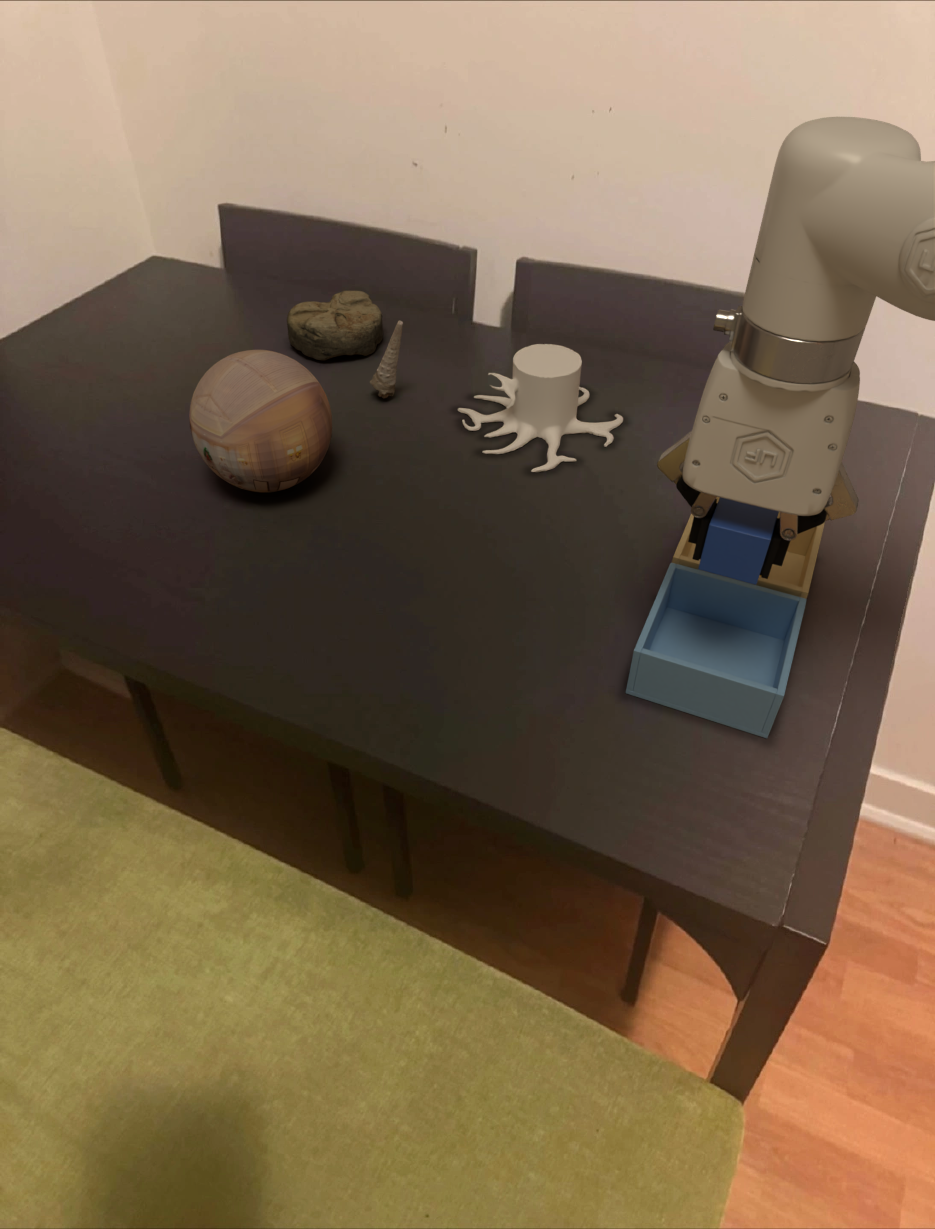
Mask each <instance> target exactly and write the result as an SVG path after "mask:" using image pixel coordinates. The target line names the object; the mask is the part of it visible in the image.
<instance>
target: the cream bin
mask: <svg viewBox="0 0 935 1229" xmlns="http://www.w3.org/2000/svg"><path fill="white" fill-rule="evenodd" d="M719 498H720V497H716V499H717V502H716V503H718V501H719ZM693 518H694V516H693V515H692V514H691V513H690V515H689V518H688V520H687V522H686V525H685V527H684V529H683V532H682V535H681V537H680V539H679V542H678V544H677V546H676V549H675V552H674V553H673V556H672V559H671V563H675V564H679V565H683V566H686V567H690V568H694V569H697V570H699V569H698V568H699V564H700V560H701V559H699V561H698V560H694V559H692V558H693V554H694V550H695V546H696V544H694V543H690V542H688V540H689V535H690V531H691V527H692V523H693ZM777 518H780V512H779V514H778V517H777ZM825 523H826V521H825V522H824V523H823V524H821V525H819V526H817V527H814V528H812V529H809V530H807V531H804V532H802V533H799V534H797V537H796V538H795V539H794V540H791V541H790V544H789V547H788V549H787V552H786V555H785V558H784V561H783V564H782V566H778V565H774V564H772V567H771V571H770V574H769V578H768V579H765V578H761V576H759V578H758V581H757V584H756V585H757V586H761V587H764V588H768V589H772V590H775V591H779V592H783V593H786V594H790V595H794V596H798V597H801V598H805V599H807V598H808V596H809V592H810V587H811V583H812V579H813V575H814V570H815V566H816V563H817V558H818V555H819V554H818V553H819V549H820V546H821V541H822V537H823V532H824V528H825ZM701 571H702V570H701ZM705 572H706V571H705ZM709 573H710V572H709ZM712 574H714V573H712ZM716 575H717V574H716ZM720 576H721V575H720ZM723 577H725V576H723ZM727 578H728V577H727ZM731 579H732V578H731ZM735 580H736V579H735ZM738 581H740V580H738ZM742 582H743V581H742ZM746 583H747V582H746ZM749 584H751V583H749ZM753 585H754V584H753Z"/></svg>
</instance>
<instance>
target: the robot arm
mask: <svg viewBox="0 0 935 1229" xmlns="http://www.w3.org/2000/svg"><path fill="white" fill-rule="evenodd" d="M921 152H922V151H921V147H920V144H919V142H918V140H917V139H916V138H915V137H914V135H913V134H912V133H910V132H909V131H907V130H906V129H904V128H902V127H899V126H897V125H895V124H892V123H889V122H886V121H882V120H878V119H872V118H866V117H856V116H828V117H820V118H816V119H812V120H808V121H805V122H802V123H800V124H799V125H797V126H795V128H793V129H792V130H791V131H790V132H789V133H788V134H787V135H786V137H785V138H784V140H783V141H782V142H781V145H780V146H779V150H778V152H777V156H776V160H775V163H774V166H773V171H772V176H771V180H770V184H769V188H768V192H767V197H766V200H765V205H764V209H763V213H762V214H763V215H762V219H761V223H760V227H759V230H758V235H757V240H756V243H755V244H756V245H755V248H754V251H753V252H754V253H753V257H752V261H751V265H750V270H749V275H748V278H747V283H746V287H745V291H744V296H743V299H742V304H741V305H738V306H737V308H736V309H733V308H731V309H730V310H724V309H718V310H717V312H716V315H715V318H714V323H713V328H712V329H713V331H715V332H719V333H723V335H725V336H729V338H728V341H729V342H727V343H726V344H725V345H724V346H723V348H722V349H721V350H720V351H719V353H718V355H717V357H716V359H715V361H714V363H713V366H712V368H711V369H710V372H709V374H708V377H707V379H706V382H705V385H704V389H703V391H702V394H701V398H700V401H699V405H698V408H697V411H696V414H695V418H694V422H693V425H692V428H691V430H690V431H689V432H688V433H687V434H685V435H684V436H683V437H682V438H680V439H679V440H677V441H676V442H675V443H674V444H672V445H671V446H669V447H668V448H667V449H666V450H664V451H663V452H662V453H661V455H660V456H659V459H658V461H657V463H656V467H657V469H658V470H659V471H660V472H661V473H662V474H663V475H664V476H665V477H666V478H667V479H668V480H669V481H670V482H671V483H674V484H675V487H676V489H677V491H678V492H679V493H680V495H681V496H682V497H683V499H684V500H685V501H686V503H687V504H688V505H689V506H690V515H691V514H692V515H693V516H694V518H693V523H692V527H691V531H690V535H689V540H688V542H690V543H694V544H696V546H695V550H694V554H693V558H692V559H694V560H698V561H699V559H701V556H702V552H703V548H704V544H705V540H706V536H707V532H708V528H709V524H710V522H711V519H712V516H713V514H714V511H715V509H716V506H717V503H716V502H717V499H716V497H721V498H725V499H729V500H733V501H737V502H741V503H745V504H749V505H753V506H758V507H762V508H766V509H770V510H774V511H779V512H780V518H777V521H776V524H775V527H774V531H773V534H772V538H771V541H770V544H769V547H768V550H767V553H766V556H765V560H764V563H763V566H762V569H761V572H760V575H761V578H765V579H768V577H769V574H770V571H771V567H772V564H774V565H778V566H782V564H783V561H784V558H785V555H786V552H787V549H788V547H789V544H790V541H791V540H794V539H795V538H796V537H797V534H799V533H802V532H804V531H807V530H809V529H812V528H814V527H817V526H819V525H821V524H823V523H824V522H825V523H826V522H827V521H835V520H839V519H843V518H847V517H850V516H854V515H855V514H856V513H857V511H858V506H859V501H860V500H859V497H858V495H857V492H856V490H855V488H854V485H853V483H852V482H851V479H850V477H849V475H848V473H847V470H846V468H845V466H844V464H843V460H844V456H845V452H846V449H847V445H848V442H849V440H850V435H851V432H852V428H853V424H854V420H855V416H856V412H857V406H858V401H859V394H860V384H861V370H860V368H859V365H858V364H857V363H856V362H855V359H856V357H857V354H858V351H859V347H860V345H861V342H862V340H863V336H864V333H865V330H866V327H867V325H868V322H869V319H870V316H871V313H872V310H873V308H874V305H875V302H876V298H878V299H880V300H882V301H884V302H886V303H888V304H889V305H891V306H893V307H895V308H897V309H899V310H900V311H904V312H906V313H908V314H910V315H913V316H915V317H918V318H922V319H925V320H927V321H932V322H935V160H930V161H924V160H922V154H921Z"/></svg>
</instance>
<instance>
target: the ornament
mask: <svg viewBox="0 0 935 1229" xmlns="http://www.w3.org/2000/svg"><path fill="white" fill-rule="evenodd" d="M188 414H189V416H188V417H189V418H188V419H189V429H190V430H189V431H190V435H191V437H192V441H193V444H194V447H195V448H196V451H197V453H198V454H199V456H200V458H201V459H202V461H203V462H204V463H205V464H206V466H207V467H208V468H209V469H210V470H211V471H212V472H213V473H214V474H215V475H216V476H218V477H219V478H220V479H222V480H223V481H224V482H226V483H228V484H230V485H232V486H234V487H236V488H239V489H242V490H246V491H250V492H254V493H274V492H279V491H284V490H286V489H287V490H288V489H289V488H292V487H295V486H296V485H299V484H300V483H301V482H303V481H305V480H307V479H308V478H309V477H310V476H311V475H312V474H313V473H314V472H315V471H316V470H317V469H318V467H319V466H320V464H321V463H322V462H323V460H324V459H325V456H326V454H327V452H328V450H329V448H330V443H331V440H332V435H333V434H332V432H333V415H332V409H331V405H330V402H329V400H328V396H327V393H326V392H325V391H324V388H323V387H322V385H321V383H320V382H319V381H318V379H317V378H316V376H315V375H314V374H313V373H312V372H311V371H310V370H309V369H308V368H306V367H305V366H304V365H303V364H301V363H300V362H299V361H297V360H296V359H294V358H293V357H290V356H288V355H286V354H283V353H280V352H278V351H277V352H276V351H274V350H273V351H272V350H266V349H248V350H243V351H238V352H235V353H232V354H229V355H227V356H225V357H223V358H221V359H220V360H218V361H217V362H215V363H214V364H213V365H212V366H211V367H210V368H209V369H208V370H207V371H205V373H204V374H203V376H202V377H201V378H200V380H199V381H198V383H197V385H196V387H195V389H194V391H193V394H192V397H191V400H190V405H189V412H188Z"/></svg>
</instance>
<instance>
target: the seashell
mask: <svg viewBox="0 0 935 1229" xmlns="http://www.w3.org/2000/svg"><path fill="white" fill-rule="evenodd" d="M403 327H404V321H402V320H397V323H396V325H395V327H394V330H393V332H392V335H391V337H390V339H389V341H388V344H387V347H386V348H385V352H384V354H383V356H382V358H381V361H380V363H379V366H378V367H377V368H376V370H375V371H376V372H375V373H374V374H373V376H372V378H371V379H370V380H369V384H370V385H371V386H372V387H373V389H375V390H376V391H378V394H377V396H378V397H379V398H382V399H387V398H388V397H393V396H394V394H395V391H396V383H397V381H396V380H397V370H398V362H399V354H400V347H401V342H402V341H401V339H402V334H403Z"/></svg>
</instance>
